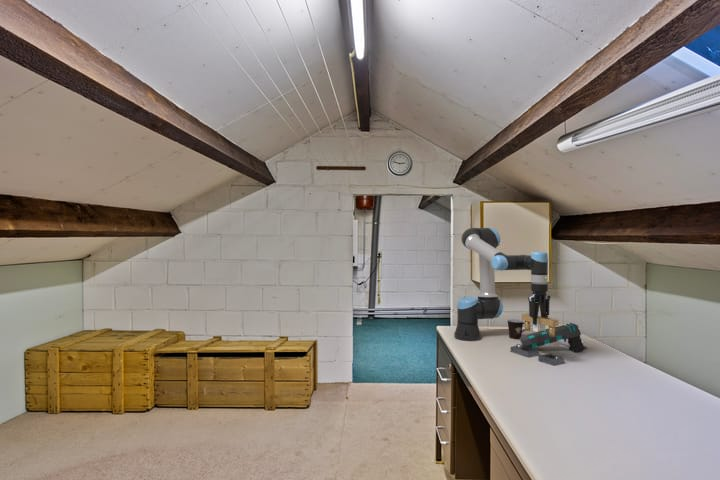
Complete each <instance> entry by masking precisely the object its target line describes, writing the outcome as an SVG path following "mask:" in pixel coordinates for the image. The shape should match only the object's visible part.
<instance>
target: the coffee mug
mask: <svg viewBox="0 0 720 480" xmlns="http://www.w3.org/2000/svg"><path fill="white" fill-rule="evenodd" d="M523 325H525V321H524V320H522V319H516V318H515V319H513V318H510V319H509V318H508V319H507V329H508V336H509V338H510V339H512V340H520V337H522V333H523V332H525V331H526V330H525V328H524V329H523V327H524V326H523Z"/></svg>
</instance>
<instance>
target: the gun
mask: <svg viewBox="0 0 720 480" xmlns="http://www.w3.org/2000/svg"><path fill="white" fill-rule="evenodd" d="M581 335H582V333H581V331H580V328H579V325H578V324H575V323H572V322H569V323H565V324H563V325H558V326H555V337H551V336H549V328H545V331H543V330H539V332H536V331H534V332H532V333H529V334H525V335H521V337H520V339H519V340H520V344H521V345H523V346H527V347H530V348H533V349H535V348H536V347H538V348H539V347H543V346H546V345H547V344H552V343H557V342H558V341H560V340H563V341H564V343H566V342H567V343H568V345H569V347H568V349H569V350H570V351H571V352H573V353H581V352H583V351H585V347H584V344H583V342H582V338H581Z"/></svg>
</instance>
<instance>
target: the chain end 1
mask: <svg viewBox="0 0 720 480" xmlns="http://www.w3.org/2000/svg"><path fill="white" fill-rule="evenodd" d="M509 352H511V353H513V354H517V355H519V356H523V357H526V358H532V357H538V356H539V355H540V350H539V349H537V348H530V347H527V346H523V345H522V343H520V344H518V343H517V344H516V345H513V346H510V350H509Z"/></svg>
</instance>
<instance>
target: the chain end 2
mask: <svg viewBox="0 0 720 480" xmlns="http://www.w3.org/2000/svg"><path fill="white" fill-rule="evenodd" d="M537 357H538V362H540V363H541V362H542V363H544V364H547V365H551V366H558V365H562V364H565V357H563V356H559V355H556V354H553V353H545V354H539V355H538V356H537Z"/></svg>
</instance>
